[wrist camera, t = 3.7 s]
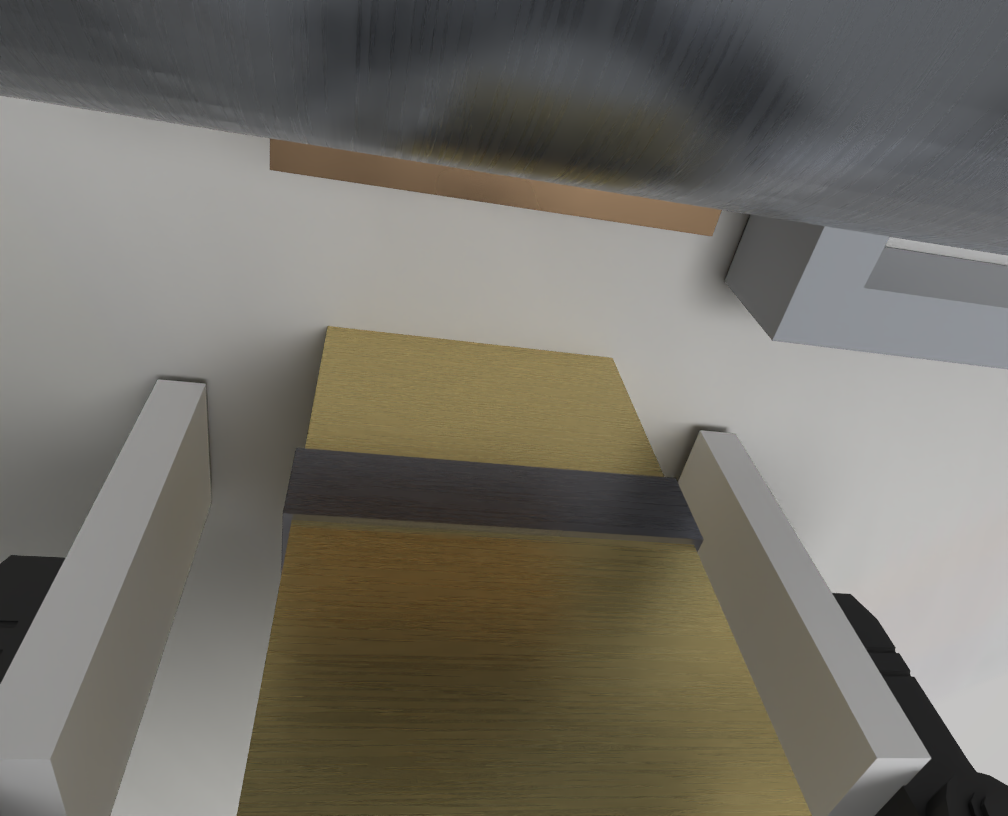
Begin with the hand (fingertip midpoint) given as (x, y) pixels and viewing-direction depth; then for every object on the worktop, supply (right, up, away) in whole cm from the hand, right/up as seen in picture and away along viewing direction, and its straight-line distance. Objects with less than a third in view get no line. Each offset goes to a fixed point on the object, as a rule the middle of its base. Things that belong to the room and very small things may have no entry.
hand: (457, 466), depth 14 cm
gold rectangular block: (0, 0, 0) cm, 0 cm away
